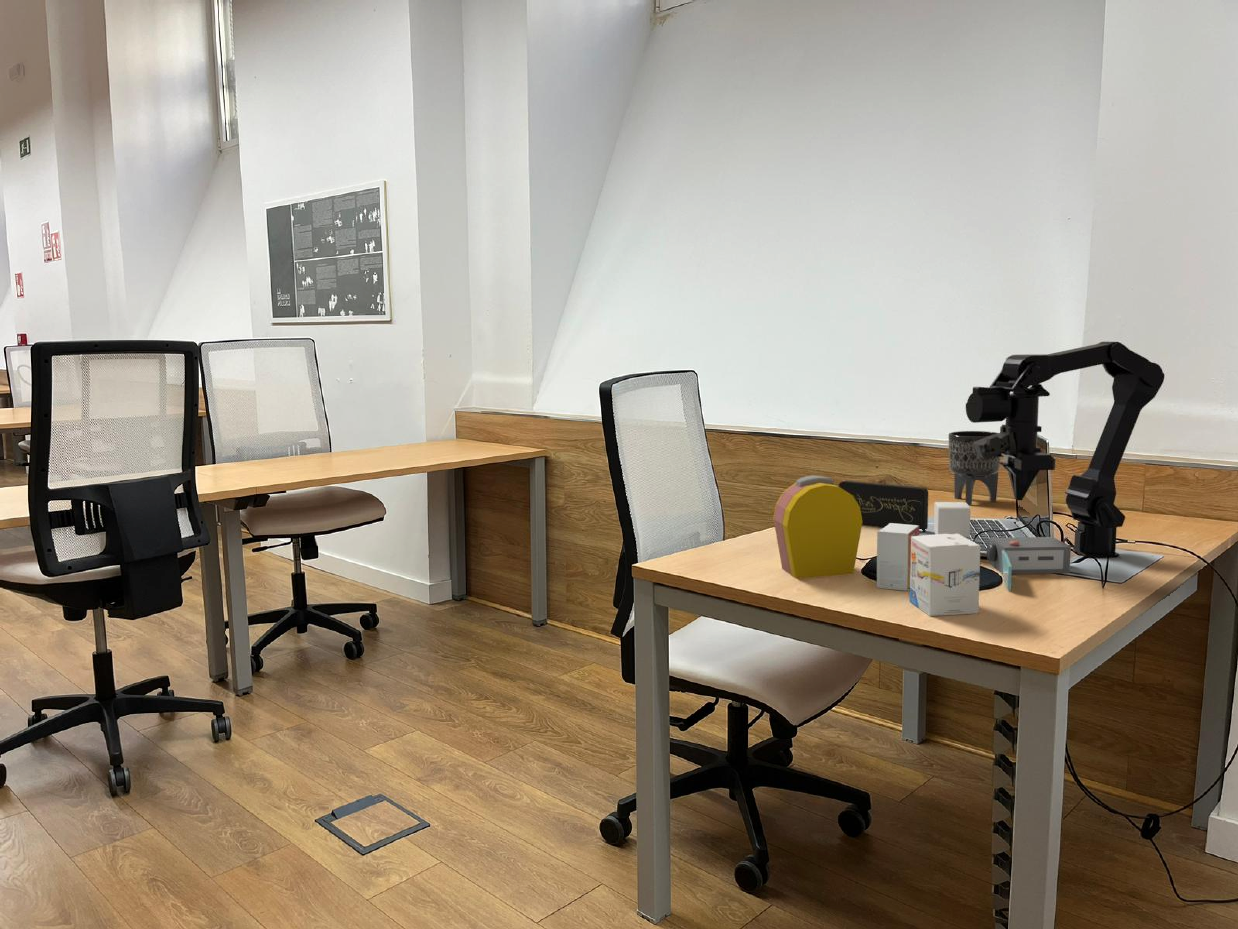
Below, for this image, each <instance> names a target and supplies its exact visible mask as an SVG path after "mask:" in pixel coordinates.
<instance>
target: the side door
mask: <svg viewBox="0 0 1238 929" xmlns="http://www.w3.org/2000/svg"><path fill="white" fill-rule="evenodd" d="M1000 572H1001V571H1000ZM1011 572H1012V566H1011V564H1010V561H1009V558H1008V555H1007V551H1005V550H1003V551H1002V572H1001V575H1002V577H1003V582H1004V583H1005V585H1006V588H1007V591H1011V590H1012V574H1011Z"/></svg>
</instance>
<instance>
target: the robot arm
mask: <svg viewBox="0 0 1238 929" xmlns="http://www.w3.org/2000/svg"><path fill="white" fill-rule="evenodd" d="M1101 365H1102V367H1103V370H1104V371H1105V373H1107V374H1108V375H1109V376H1110V377H1111V378H1113V382H1112V386H1111V389H1112V397H1113V405H1112V407H1111V410H1110V412H1109V415H1108V417H1107V419H1106V422H1105V424H1104V428H1103V429H1102V433H1101V435H1100V437H1099V440H1098V442H1097V444H1096V448H1095V450H1094V452H1093V454H1092V458H1091V460H1090V462H1089V466H1088V468H1087V469H1086V470H1085V471H1084V472H1083V473H1082V474H1081V475H1078V474H1077V475H1076V474H1073V475H1072V477H1071V479H1070V482H1069V486H1068V488H1067V489H1066V490H1065V492H1064V494H1065V495H1066V497H1065V503H1066V505H1067V508H1068V510H1069V511H1070V514H1071V516H1072V517H1071V518H1072V520H1074V521H1077V529H1074V545H1073V546H1072V550H1073V551H1074V552H1077V553H1078V554H1080V555H1081V556H1084V557H1087V558H1102V557H1103V558H1104V557H1108V556H1110V557H1112V558H1113V557H1120V553H1119V552H1116V549H1117V548H1116V546H1117V530H1118V529H1117V528H1122V527H1123V525H1124V523H1125V520H1126V515H1124V513H1123V512H1122V511H1121V510H1120V509H1119V508H1118V507H1117V505H1115V501H1116V497H1117V488H1116V482H1115V476H1116V474H1117V472H1118V469H1119V467H1120V464H1121V461H1122V458H1123V456H1124V454H1125V452H1126V448H1127V446H1128V444H1129V441H1130V439H1131V436H1132V434H1133V431H1134V428H1135V426H1136V424H1137V421H1138V419H1139V416H1140V413H1141V412H1142V410H1143V408H1144V407H1146V405H1148V404H1149V403H1150V402H1151V401H1152V400H1153V399H1155V398H1156V396H1157V394H1158V392H1159V391H1160V389H1161V387H1162V385H1163V384H1164V380H1165V373H1164V371H1163V369H1162V367H1161V365H1160V364H1158V363H1156V362H1151V361H1150V360H1149V359H1148V358H1146V357H1144V356H1142V355H1140V354H1139V353H1137V352H1135V351H1133V350H1131V349H1130V348H1129V347H1127V346H1126V345H1125V344H1123V343H1122V342H1120V341H1100V342H1098V343H1096V344H1091V345H1086V346H1082V347H1077V348H1071V349H1067V350H1062V351H1058V352H1054V353H1053V352H1052V353H1047V354H1031V353H1030V354H1012V355H1009V356H1007V358H1005V360H1004V362H1003V364H1002V368H1001V370H1000V371H999V372H998V374H997V375H996V377H995V379H993V381H992V383H991V384H990V385H989V386H987V387H986V386H985V387H984V386H973V387H972V393H971V394H970V395H969V396H968V398H967V401H966V403H965V413H966V416H967V419H968V420H969V421H970V422H971V423H974V424H975V423H977V424H978V423H993V422H997V423H998V422H1003V421H1005V424H1001V426H1000V428H999V432H997V433H998V434H995V435H991V436H988V437H986V438H983V439H980V440H978V441H975V442H974V443H973V444H974V447H975V450H976V453H977V455H978V458H982V459H983V460H988V459H991V458H993V459H995V458H996V457H1000V458H1001V457H1002V462H1001V461H1000V462H999V465H1000V466H1001V467H1002V468H1003V469H1004V470H1005V471H1006V472H1007V473H1008V477H1009V481H1010V483H1011V484H1010V485H1011V488H1012V492H1013V496H1014V500H1015V501H1023V500H1024V498H1025V496H1026V494H1027V492H1028V491H1029V489H1030V486H1031V485H1032V483H1033V481H1034V480H1035V478H1036V477H1037V475H1038V474H1039V472H1040V471H1055V470H1056V461H1057V460H1056V458H1054V456H1052V455H1051V454H1049V453H1046V452H1042V451H1041V450H1042V449H1041V447H1038V433H1041V432H1042V428H1043V427H1042V426H1041V425H1039V404H1040V403H1039V402H1040V401H1039V400H1040V398H1042V397H1050V395H1051V393H1050V392H1049V391H1048V390H1047V389H1046V388H1044V387H1043V385H1042V383H1044V382H1047V381H1049V380H1051V379H1052V378H1053V377H1055V376H1057V375H1059V374H1062V373H1063V374H1064V373H1068V372H1072V371H1076V370H1081V369H1086V368H1091V367H1097V366H1101Z"/></svg>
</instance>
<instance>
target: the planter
mask: <svg viewBox="0 0 1238 929" xmlns="http://www.w3.org/2000/svg"><path fill="white" fill-rule="evenodd" d="M998 433H999V432H995V431H984V430H962V431H951V432H948V463H949V464H948V468H949V470H950V471H949V472H951V473H954V475H953V476H954V482H953V484H954V499H955V500H956V499H957V500H959V499H961V500H962V497H963V496H962V495H963V490H964V487H965V502H966V503H967V504H968V505H969V506H973V505H972V504H973V503H972V502H973V495H974V494H973V493H974V485H975V482H976V481H979V482H981V483H983V484H984V485H985V487H986V488H987V490H988V494H989V501H990V502H997V494H998V484H999V483H998V482H999V471H1000V466H1001V465H999V462H1001V457H996V458H995V459H993V458H991V459H988V460H983V459H982V458H978V455H977V453H976V450H975V447H974V444H973V443H974V442H975V441H978V440H980V439H983V438H986V437H988V436H991V435H995V434H998Z"/></svg>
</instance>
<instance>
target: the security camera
mask: <svg viewBox="0 0 1238 929" xmlns="http://www.w3.org/2000/svg"><path fill="white" fill-rule="evenodd" d="M933 506H934V508H933V513H934V514H933V518H934V519H933V532H934V534H960V535H962V536H963V537H965V538H966V537H967V539H970V535H971V507H970V505H968V504H967V503H966V501H965V502H962V501H958V502H957V501H953V502H952V501H950V502H949V501H945V502H944V501H935V502H934V505H933Z"/></svg>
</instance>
